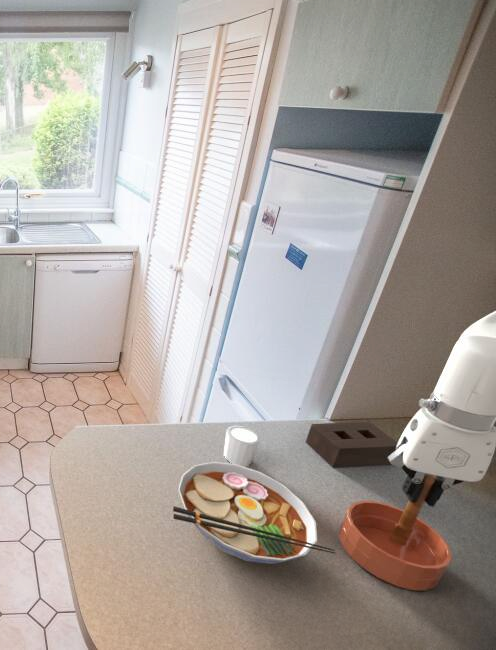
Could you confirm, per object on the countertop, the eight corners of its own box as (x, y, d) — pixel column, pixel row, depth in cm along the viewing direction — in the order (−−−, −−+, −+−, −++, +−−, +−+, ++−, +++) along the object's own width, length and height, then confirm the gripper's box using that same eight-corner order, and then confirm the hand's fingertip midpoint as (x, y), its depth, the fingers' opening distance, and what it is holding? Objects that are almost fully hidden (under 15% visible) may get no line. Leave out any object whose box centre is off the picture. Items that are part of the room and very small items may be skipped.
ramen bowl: (295, 506, 93) (306, 475, 90) (331, 611, 73) (347, 577, 70) (165, 476, 101) (171, 446, 98) (166, 564, 81) (174, 531, 78)
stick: (402, 541, 83) (436, 473, 77) (405, 548, 82) (439, 480, 76) (387, 536, 84) (419, 469, 78) (390, 543, 83) (422, 475, 77)
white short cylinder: (224, 466, 104) (230, 441, 101) (217, 446, 110) (223, 423, 107) (257, 471, 102) (264, 446, 99) (248, 451, 108) (255, 427, 105)
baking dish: (414, 536, 86) (426, 512, 84) (455, 604, 74) (470, 579, 72) (328, 515, 91) (337, 492, 88) (353, 577, 79) (364, 552, 76)
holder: (305, 442, 111) (311, 423, 109) (362, 439, 112) (369, 421, 110) (332, 467, 103) (340, 448, 101) (393, 464, 104) (402, 445, 101)
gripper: (409, 414, 71) (371, 502, 78) (544, 437, 66) (489, 528, 73) (389, 389, 78) (355, 472, 85) (510, 408, 72) (463, 494, 80)
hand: (417, 497), depth 79 cm, fingers closed on stick, 1 cm apart
